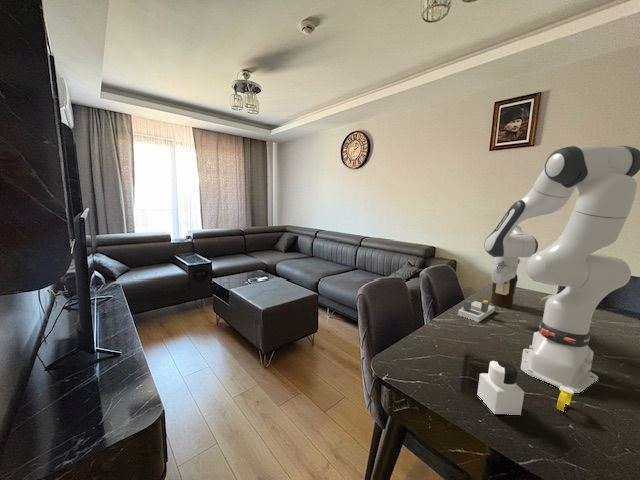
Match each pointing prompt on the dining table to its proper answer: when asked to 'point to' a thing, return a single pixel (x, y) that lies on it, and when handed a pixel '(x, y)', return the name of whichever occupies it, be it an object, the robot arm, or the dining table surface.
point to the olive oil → (504, 299)
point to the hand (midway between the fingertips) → (502, 289)
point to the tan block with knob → (505, 289)
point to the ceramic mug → (544, 301)
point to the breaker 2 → (484, 305)
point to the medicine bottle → (501, 389)
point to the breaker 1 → (467, 305)
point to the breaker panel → (476, 312)
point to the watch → (564, 397)
